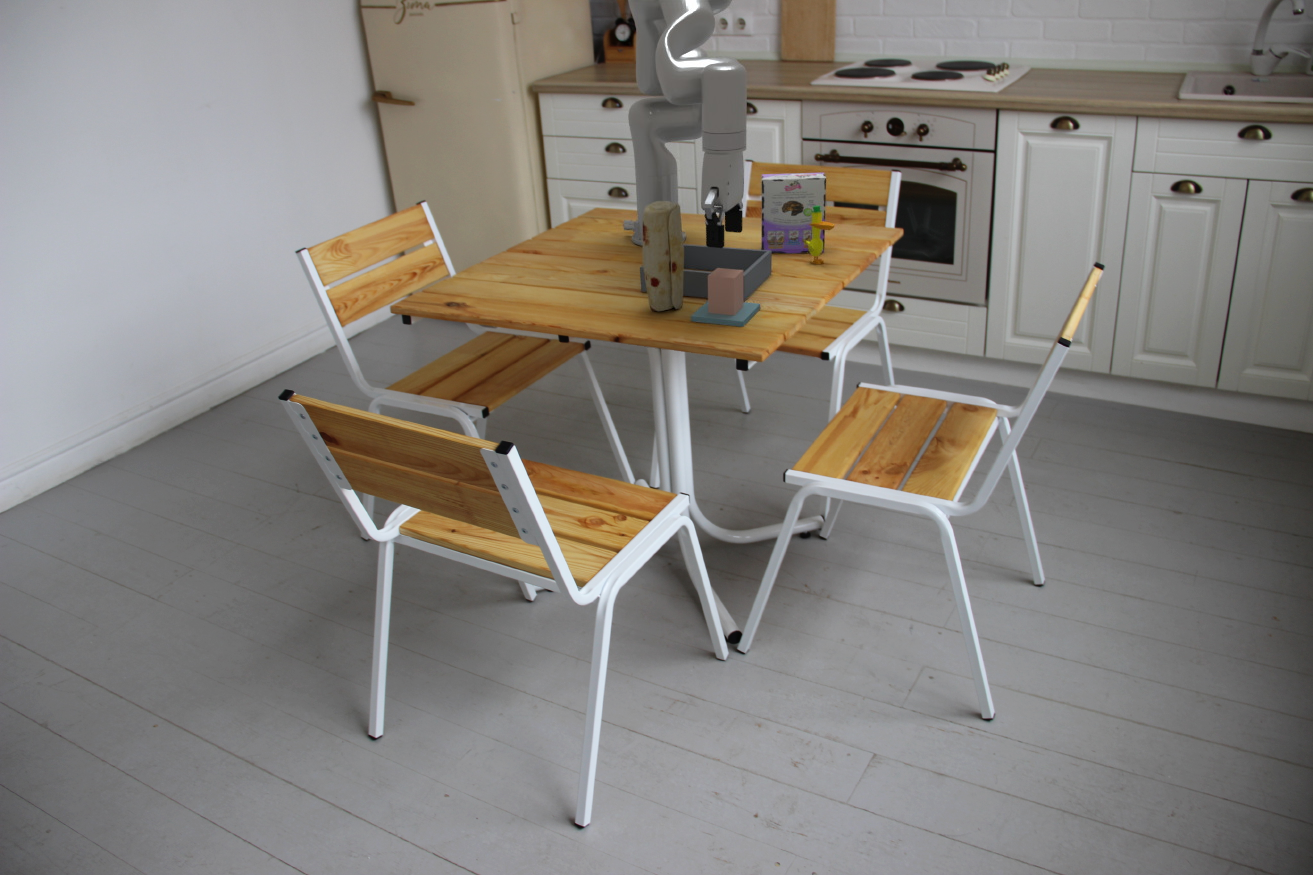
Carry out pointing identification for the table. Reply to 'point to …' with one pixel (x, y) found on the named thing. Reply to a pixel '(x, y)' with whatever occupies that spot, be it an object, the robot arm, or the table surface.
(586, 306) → the table surface
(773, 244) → the candy box
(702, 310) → the pad
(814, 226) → the toy figure
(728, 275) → the block
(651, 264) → the food model
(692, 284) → the crate
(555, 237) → the table surface
